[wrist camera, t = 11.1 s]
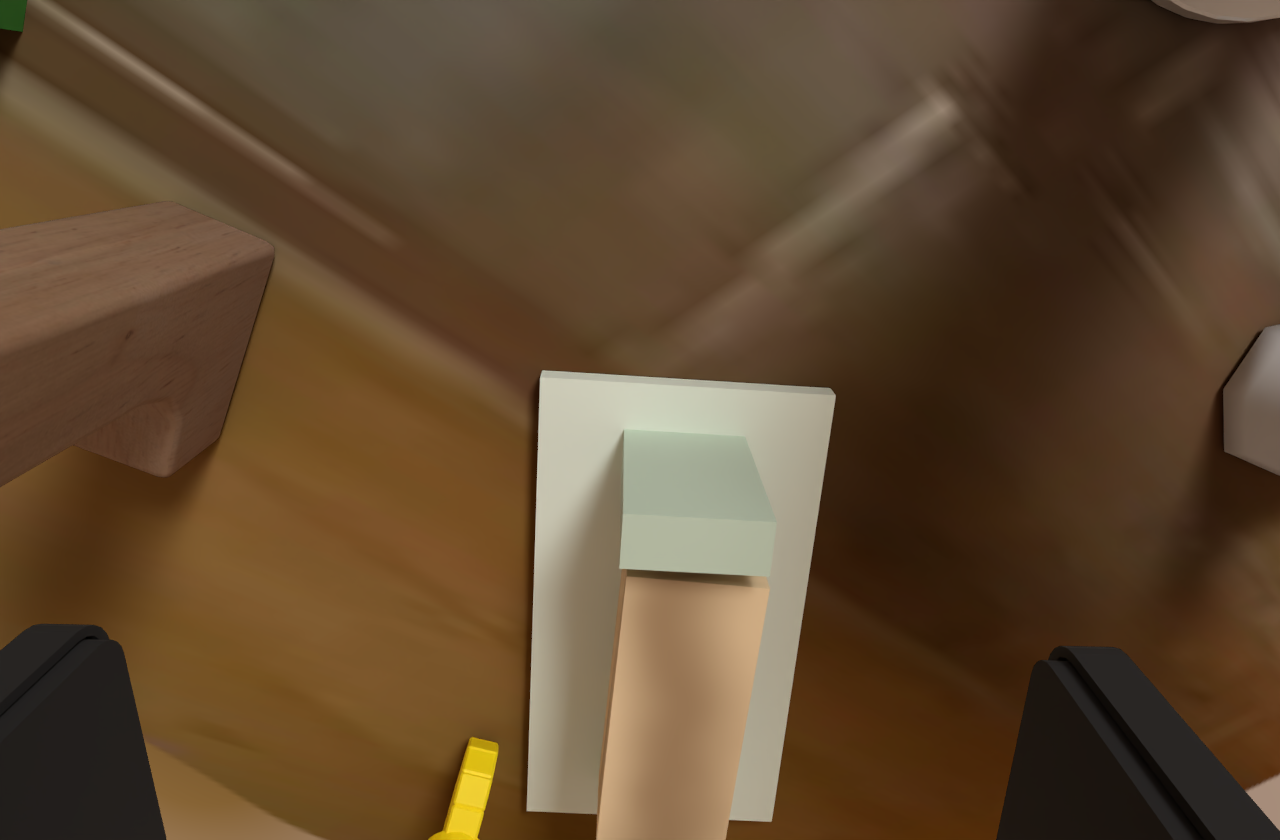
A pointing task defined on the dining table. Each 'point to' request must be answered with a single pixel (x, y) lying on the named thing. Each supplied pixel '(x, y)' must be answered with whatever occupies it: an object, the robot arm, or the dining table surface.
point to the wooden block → (123, 334)
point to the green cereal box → (12, 14)
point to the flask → (1255, 404)
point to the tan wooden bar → (678, 703)
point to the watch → (470, 792)
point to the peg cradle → (664, 548)
